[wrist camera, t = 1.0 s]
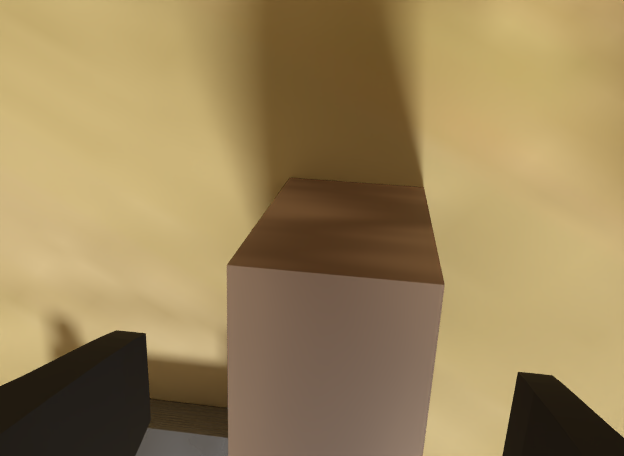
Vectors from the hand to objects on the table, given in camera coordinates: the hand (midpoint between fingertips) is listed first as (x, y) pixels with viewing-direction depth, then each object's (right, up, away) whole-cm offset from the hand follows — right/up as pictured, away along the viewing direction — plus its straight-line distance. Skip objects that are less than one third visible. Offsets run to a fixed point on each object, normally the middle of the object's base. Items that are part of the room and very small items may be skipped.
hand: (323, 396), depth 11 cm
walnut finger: (+1, +2, +7) cm, 7 cm away
